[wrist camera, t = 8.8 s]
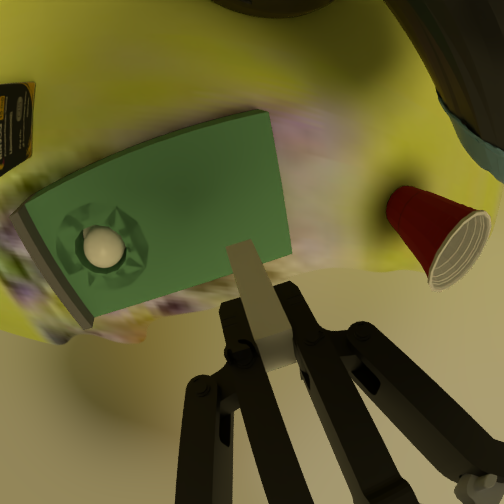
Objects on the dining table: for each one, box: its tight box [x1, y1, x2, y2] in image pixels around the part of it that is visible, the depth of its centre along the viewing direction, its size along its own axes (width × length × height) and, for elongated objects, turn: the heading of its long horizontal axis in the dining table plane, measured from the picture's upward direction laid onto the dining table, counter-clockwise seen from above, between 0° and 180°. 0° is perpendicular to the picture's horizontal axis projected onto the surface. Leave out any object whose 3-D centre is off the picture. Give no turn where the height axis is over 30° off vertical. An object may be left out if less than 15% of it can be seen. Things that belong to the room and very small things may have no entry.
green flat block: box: [9, 109, 292, 330], centre depth 23 cm, size 14×23×4 cm, turn 102°
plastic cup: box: [386, 186, 491, 292], centre depth 28 cm, size 11×11×12 cm
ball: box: [84, 225, 125, 268], centre depth 23 cm, size 4×4×4 cm
